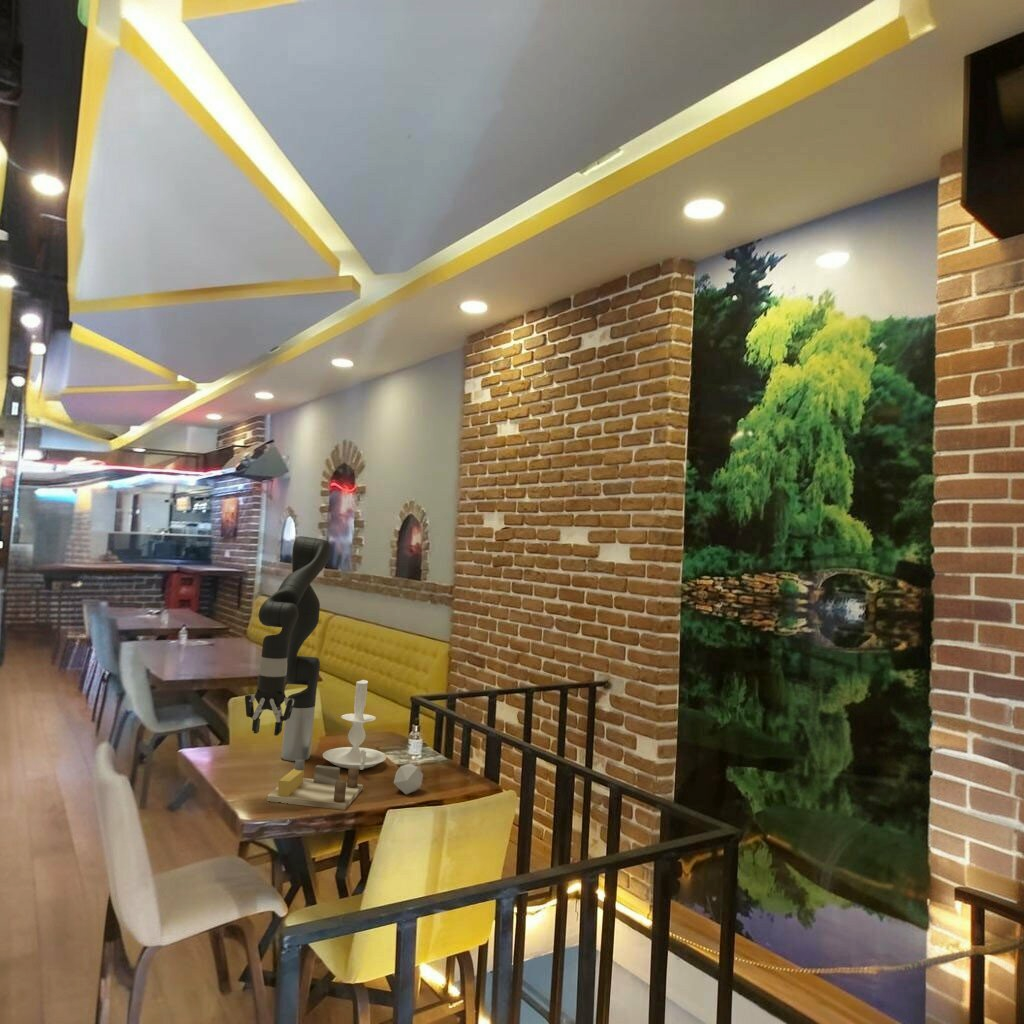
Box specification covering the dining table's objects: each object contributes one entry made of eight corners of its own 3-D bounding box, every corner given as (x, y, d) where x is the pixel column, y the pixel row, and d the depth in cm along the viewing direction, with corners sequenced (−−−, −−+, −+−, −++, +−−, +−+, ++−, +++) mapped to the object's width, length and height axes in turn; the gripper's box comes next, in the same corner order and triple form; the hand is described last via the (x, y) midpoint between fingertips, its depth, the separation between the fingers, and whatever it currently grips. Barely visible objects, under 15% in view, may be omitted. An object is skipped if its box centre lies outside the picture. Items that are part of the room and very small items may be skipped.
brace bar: (294, 780, 222) (296, 758, 222) (304, 781, 222) (306, 759, 222) (277, 795, 209) (279, 771, 209) (287, 796, 208) (290, 772, 209)
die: (425, 797, 224) (430, 765, 230) (407, 787, 219) (412, 755, 225) (404, 801, 228) (409, 770, 234) (386, 791, 222) (391, 759, 229)
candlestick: (329, 780, 230) (338, 687, 232) (317, 757, 253) (325, 673, 254) (395, 778, 238) (403, 688, 239) (377, 755, 261) (385, 674, 262)
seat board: (290, 781, 226) (292, 759, 226) (362, 789, 224) (364, 767, 224) (266, 801, 208) (269, 777, 208) (344, 810, 206) (347, 785, 206)
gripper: (302, 673, 215) (296, 733, 214) (253, 668, 216) (247, 728, 215) (292, 677, 208) (286, 739, 207) (242, 672, 209) (235, 734, 208)
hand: (266, 733), depth 211 cm, fingers open, 5 cm apart
